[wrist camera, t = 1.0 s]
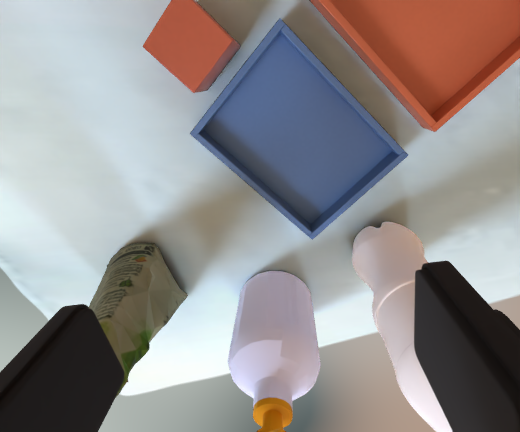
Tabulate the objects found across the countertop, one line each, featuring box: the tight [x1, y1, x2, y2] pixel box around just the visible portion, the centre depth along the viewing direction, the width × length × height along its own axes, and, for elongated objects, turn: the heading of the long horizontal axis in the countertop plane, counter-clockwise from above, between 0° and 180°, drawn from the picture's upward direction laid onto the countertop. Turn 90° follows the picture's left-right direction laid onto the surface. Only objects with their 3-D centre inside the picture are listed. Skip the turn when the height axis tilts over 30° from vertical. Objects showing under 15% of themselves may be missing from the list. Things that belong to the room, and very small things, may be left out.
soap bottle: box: [228, 271, 321, 432], centre depth 28 cm, size 9×9×25 cm
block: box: [143, 0, 240, 93], centre depth 26 cm, size 5×5×5 cm
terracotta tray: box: [310, 0, 520, 132], centre depth 24 cm, size 16×12×2 cm
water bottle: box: [352, 222, 453, 432], centre depth 23 cm, size 7×7×25 cm
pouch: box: [89, 243, 188, 398], centre depth 28 cm, size 11×12×25 cm
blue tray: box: [190, 19, 408, 239], centre depth 30 cm, size 16×12×2 cm
